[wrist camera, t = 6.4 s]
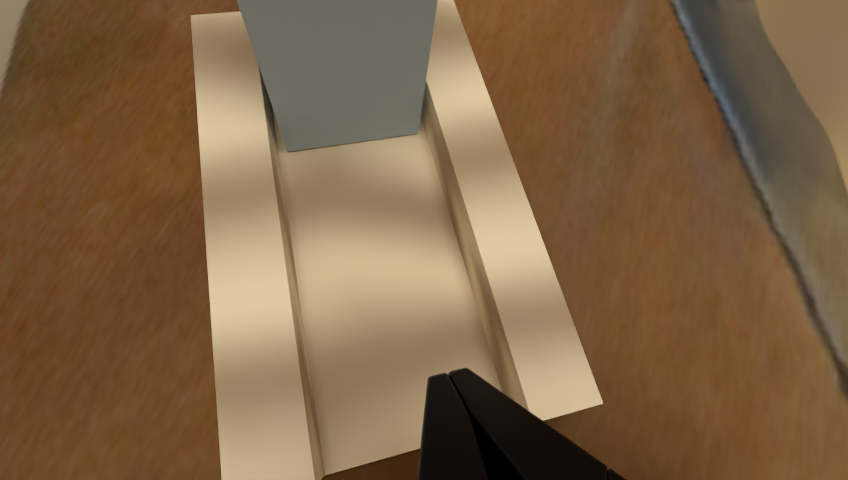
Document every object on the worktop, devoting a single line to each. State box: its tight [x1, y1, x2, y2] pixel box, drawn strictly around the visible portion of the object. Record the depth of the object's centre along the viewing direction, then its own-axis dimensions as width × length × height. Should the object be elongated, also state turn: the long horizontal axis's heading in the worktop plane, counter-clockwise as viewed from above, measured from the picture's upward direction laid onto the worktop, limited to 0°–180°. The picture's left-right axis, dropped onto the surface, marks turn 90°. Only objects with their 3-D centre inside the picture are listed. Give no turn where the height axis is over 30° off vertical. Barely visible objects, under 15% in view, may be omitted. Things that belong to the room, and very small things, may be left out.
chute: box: [191, 0, 603, 480], centre depth 17 cm, size 19×12×3 cm, turn 14°
